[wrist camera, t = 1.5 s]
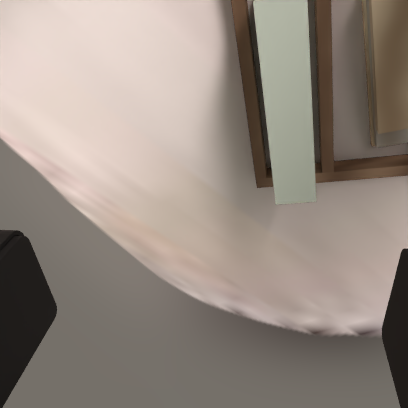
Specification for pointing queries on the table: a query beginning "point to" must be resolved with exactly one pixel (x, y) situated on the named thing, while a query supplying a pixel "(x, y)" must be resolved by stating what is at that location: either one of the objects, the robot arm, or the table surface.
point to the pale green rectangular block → (287, 96)
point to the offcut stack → (387, 70)
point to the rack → (327, 166)
